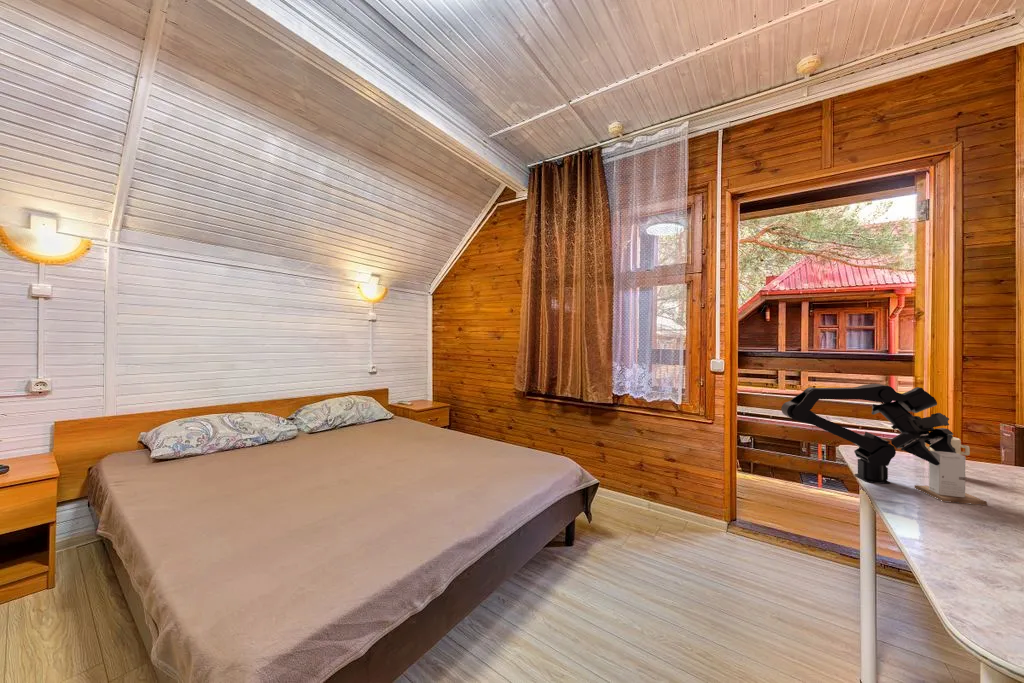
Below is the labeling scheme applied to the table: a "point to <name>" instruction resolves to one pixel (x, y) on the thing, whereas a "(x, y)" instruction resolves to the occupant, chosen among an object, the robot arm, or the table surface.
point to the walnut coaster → (965, 499)
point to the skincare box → (947, 474)
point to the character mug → (956, 447)
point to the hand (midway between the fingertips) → (948, 463)
